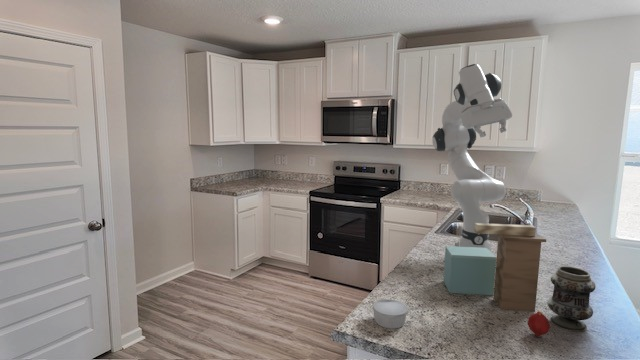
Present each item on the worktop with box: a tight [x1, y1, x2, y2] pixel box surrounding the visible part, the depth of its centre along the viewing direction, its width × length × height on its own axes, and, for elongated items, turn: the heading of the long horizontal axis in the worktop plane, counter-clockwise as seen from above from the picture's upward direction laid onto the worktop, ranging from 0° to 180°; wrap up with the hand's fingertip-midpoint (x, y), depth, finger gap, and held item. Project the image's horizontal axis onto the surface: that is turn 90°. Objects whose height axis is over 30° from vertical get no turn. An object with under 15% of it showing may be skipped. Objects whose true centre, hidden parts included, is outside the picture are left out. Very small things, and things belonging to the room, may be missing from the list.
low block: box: [443, 245, 497, 296], centre depth 142 cm, size 11×16×15 cm
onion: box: [527, 310, 551, 337], centre depth 109 cm, size 6×6×8 cm
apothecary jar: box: [546, 265, 597, 333], centre depth 116 cm, size 12×12×18 cm
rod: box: [475, 223, 537, 236], centre depth 127 cm, size 19×3×3 cm, turn 83°
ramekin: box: [372, 298, 409, 330], centre depth 117 cm, size 11×11×5 cm
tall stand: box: [493, 233, 547, 313], centre depth 128 cm, size 10×13×26 cm
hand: (493, 134), depth 142 cm, fingers open, 8 cm apart
